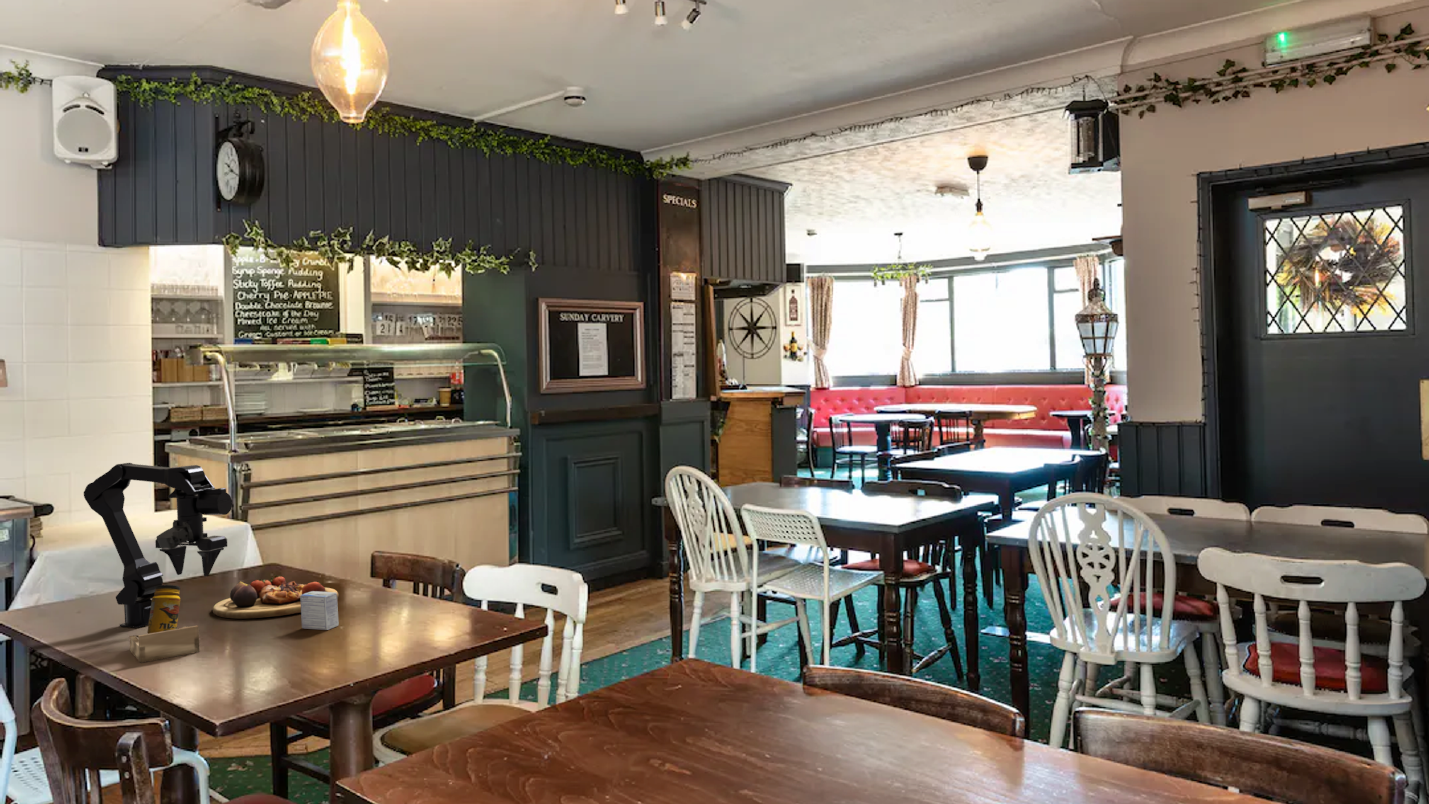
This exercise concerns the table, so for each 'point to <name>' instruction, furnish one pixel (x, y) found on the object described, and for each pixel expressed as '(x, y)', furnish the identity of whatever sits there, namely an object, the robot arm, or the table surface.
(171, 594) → the condiment
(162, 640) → the drawer
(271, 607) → the wooden plate with food
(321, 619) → the medicine box
